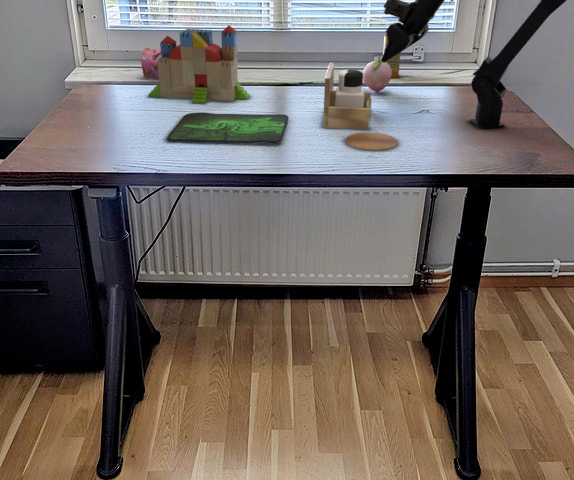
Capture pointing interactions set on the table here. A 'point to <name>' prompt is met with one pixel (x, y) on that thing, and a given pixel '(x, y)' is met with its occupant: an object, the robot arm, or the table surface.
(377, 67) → the decorative fruit
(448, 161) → the table surface
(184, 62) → the block set
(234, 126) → the mouse mat
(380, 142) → the cork coaster
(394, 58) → the shoe polish box
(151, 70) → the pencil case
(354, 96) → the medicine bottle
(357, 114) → the spice rack
